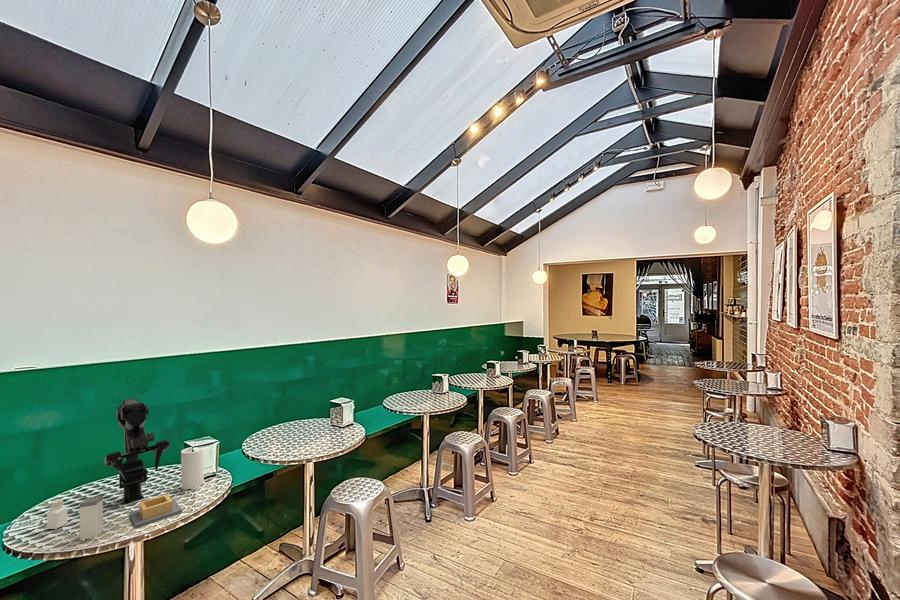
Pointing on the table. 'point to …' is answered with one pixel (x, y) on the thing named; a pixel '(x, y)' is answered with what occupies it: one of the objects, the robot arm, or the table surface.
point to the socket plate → (154, 510)
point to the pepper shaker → (56, 515)
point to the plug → (91, 517)
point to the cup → (192, 468)
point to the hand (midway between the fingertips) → (141, 474)
